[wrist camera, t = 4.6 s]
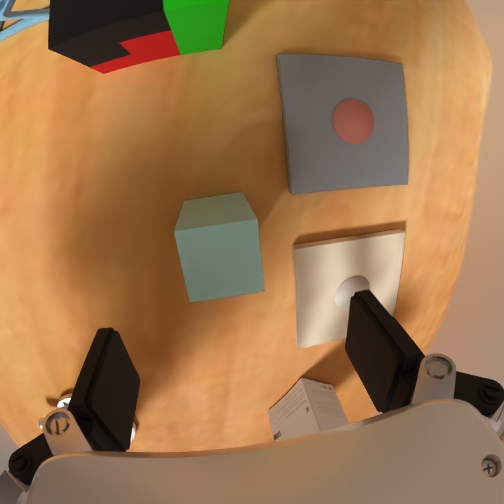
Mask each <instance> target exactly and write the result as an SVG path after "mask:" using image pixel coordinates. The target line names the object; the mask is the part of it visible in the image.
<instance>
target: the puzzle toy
mask: <svg viewBox="0 0 504 504" xmlns="http://www.w3.org/2000/svg"><path fill="white" fill-rule="evenodd" d="M229 3H230V0H50V10H49V32H48V49H49V50H52V51H54V52H57V53H59V54H61V55H64V56H66V57H68V58H71V59H73V60H75V61H77V62H79V63H82V64H84V65H86V66H88V67H90V68H92V69H95V70H97V71H99V72H101V73H103V74H105V73H108V72H111V71H115V70H118V69H122V68H125V67H129V66H133V65H136V64H140V63H144V62H149V61H153V60H157V59H162V58H167V57H172V56H177V55H183V54H188V53H194V52H201V51H208V50H216V49H221V47H222V41H223V36H224V30H225V24H226V19H227V13H228V8H229Z"/></svg>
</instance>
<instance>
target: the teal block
mask: <svg viewBox="0 0 504 504" xmlns="http://www.w3.org/2000/svg"><path fill="white" fill-rule="evenodd" d="M174 235H175V240H176V244H177V249H178V254H179V258H180V263H181V267H182V272H183V276H184V281H185V285H186V289H187V293H188V297H189V302H190V303H191V302H198V301H205V300H212V299H219V298H225V297H232V296H238V295H245V294H251V293H257V292H263V291H264V281H263V270H262V260H261V250H260V240H259V230H258V220H257V217H256V216H255V214H254V212H253V210H252V208H251V206H250V205H249V203H248V201H247V199H246V197H245V195H244V194H243V192H239V193H231V194H224V195H217V196H211V197H204V198H198V199H191V200H185V201H184V202H183V205H182V208H181V211H180V214H179V217H178V220H177V223H176V227H175V230H174Z"/></svg>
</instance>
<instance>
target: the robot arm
mask: <svg viewBox="0 0 504 504" xmlns="http://www.w3.org/2000/svg"><path fill="white" fill-rule="evenodd" d="M345 349H346V353H347V355H348V357H349V358H350V360H351V362H352V364H353V366H354V368H355V370H356V371H357V373H358V375H359V377H360V379H361V381H362V383H363V385H364V386H365V388H366V390H367V392H368V394H369V396H370V398H371V400H372V402H373V404H374V406H375V407H376V409H377V411H378V412H382V413H383V414H380V415H378V416H374V417H371V418H368V419H365V420H361V421H358V422H355V423H351V424H348V425H344V426H341V427H337V428H334V429H330V430H326V431H322V432H318V433H314V434H310V435H305V436H301V437H296V438H291V439H286V440H281V441H276V442H270V443H264V444H258V445H251V446H244V447H236V448H227V449H217V450H205V451H189V452H126V450H128V449H129V448H130V442H131V441H132V440H133V439H134V438H135V435H136V425H135V423H134V415H135V409H136V403H137V398H138V392H139V387H140V378H139V375H138V373H137V371H136V369H135V367H134V365H133V363H132V361H131V359H130V357H129V355H128V353H127V350H126V348H125V346H124V344H123V342H122V339H121V337H120V335H119V333H118V331H114V329H113V328H100V329H98V331H97V333H96V336H95V338H94V340H93V343H92V345H91V347H90V350H89V352H88V354H87V357H86V359H85V362H84V364H83V367H82V369H81V372H80V375H79V377H78V380H77V382H76V385H75V388H74V391H73V393H70V394H66V395H64V396H62V397H61V398H60V399H59V402H58V404H57V409H56V410H53V411H51V412H50V413H49V414H48V415H47V416H46V417H45V418H40V419H39V426H40V427H41V428H42V429H43V433H42V434H41V435H39V436H38V437H36V438H35V439H33V440H32V441H30V442H28V443H27V444H25V445H24V446H22V447H21V448H19V449H17V450H16V451H15V452H14V453H13V454H12V455H11V457H10V459H9V471H8V472H7V471H6V470H5V471H4V472H3V473H2V474H1V475H0V504H504V389H503V387H502V386H501V385H500V384H499V383H498V382H496V381H494V380H491V379H487V378H483V377H478V376H474V375H470V374H465V373H462V372H457V371H456V366H455V364H454V362H453V361H452V360H451V359H450V358H449V357H447V356H446V355H443V354H436V353H434V354H429V355H427V356H425V355H424V354H423V353H422V351H421V350H420V349H419V348H418V346H417V345H416V344H415V342H414V341H413V340H412V339H411V337H410V336H409V335H408V334H407V333H406V331H405V330H404V329H403V328H402V326H401V325H400V324H399V323H398V321H397V320H396V319H395V318H394V317H393V316H391V315H390V314H389V312H388V311H387V310H386V309H385V308H384V306H383V305H382V304H381V303H380V302H379V300H378V299H377V298H376V297H375V296H374V294H373V293H372V292H371V291H370V290H369V289H367V290H362V291H357V292H355V293H354V296H352V297H351V298H350V307H349V317H348V327H347V335H346V343H345Z"/></svg>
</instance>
